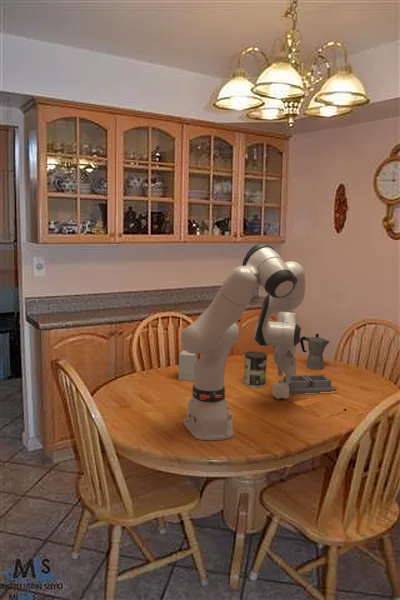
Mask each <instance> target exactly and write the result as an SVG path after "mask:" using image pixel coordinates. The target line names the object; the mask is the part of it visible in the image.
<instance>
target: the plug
mask: <svg viewBox="0 0 400 600" xmlns="http://www.w3.org/2000/svg"><path fill="white" fill-rule="evenodd" d="M271 395H272V396H273V397H274V398H275V399H276V400H277V399H279V400H280V399H283V400H284V399H285V400H287V399H289V396H290V395H289V386H288V385H287V384H286V383H279V382H272V394H271Z"/></svg>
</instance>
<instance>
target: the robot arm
mask: <svg viewBox="0 0 400 600" xmlns="http://www.w3.org/2000/svg"><path fill="white" fill-rule="evenodd" d="M259 287H262V288H263V289H264V290H265V292H266V293H267V294H266V296H265V297H264V299H263V302H262V306H261V309H260V313H259V316H258V320H257V323H256V325H255V327H254V330H253V331H254V332H253V337H254V341H255V342H256V343H257V344H258V345H260V346H261V347H264V346H266V347H267V346H272V348H273V351H272V352H273V353H272V354H273V362H274V364H275V365H276V366H277V367H276V369H277V376H278V377H284V374H285V376H286V379H285V383H286V384H290V379H291V377H292V376H297V358H296V357H295V356H294V355H296V353H297V346H298V344H300V341H301V331H302V327H301V326H300V325H299V324H298V314H297V312H296V311H293V310H295V309H297V308H298V307H300V306H301V305H302V304H303V301H304V297H305V294H306V275H305V269H304V268H303V266H302V265H301V264H300V263H298V262H296V261H294V260H293V261H284V259H283V258H282V257H281V255H280V254H278V252H276V250H275V249H274V248H273V246H270V245H269V244H267V243H264V242H261V243H260V242H259V243H257V244H255V245H254V246H252V247H251V248H250V249H249V250H248V251H247V253H246V255H245V257H244V258H243V260H242V265H239V266H237V267H235V268H233V269H232V271H231V273H230V274H229V275H228V276H227V278H226V279H225V280H224V282H223V283H222V285H221V287H220V288H219V290H218V292H217V293H216V295H215V296H214V298H213V300H212V302H211V303H210V304H209V306H207V308H206V309H205V310H204V311H203V312H202V313H201V314H200V315H199V316H198V318H196V320H194V321H193V322H192V323H190V324H189V325H188V326H187V327H185V328H184V329H183V330H182V332H181V334H180V343H181V346H182V348H183V349H184V351H187V352H188V353H191V354H197V355H198V354H199V355H200V354H201V356H200V357H199V359H198V360H197V363H196V365H195V370H194V380H193V385H192V397H191V398H190V399H189V400H188V402H187V416H186V418H184V419H183V420H182V424H183V425H184V426H185V428H186V429H187V430H188V431H189V433H190V435H192V436H193V437H194V439H197V440H201V441H220V440H221V441H222V440H228V439H231V438H234V436H235V435H234V425H233V413H232V412H228V410H230V405H228V399H227V398H226V389H225V388H226V387H225V385H224V384H225V370H226V363H227V361H228V357H229V355H230V352H231V350H232V347H233V346H234V344H235V343H236V342H237V340H238V339H239V335H240V329H239V326H238V325H237V322H238V321H239V319H240V318H241V316H242V315H243V313H244V311H245V309H246V308H247V307H248V304H249V303H250V302H251V300H252V299H253V296H254V294H255V291H256V290H257V289H258V288H259ZM274 314H277V319H276V321H271V320H270V319H271V317H272V316H273V315H274Z"/></svg>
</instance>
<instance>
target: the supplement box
mask: <svg viewBox="0 0 400 600" xmlns="http://www.w3.org/2000/svg"><path fill="white" fill-rule="evenodd" d="M197 359H198V354H191V353H188V352H187V351H186V350H185V349H184V350H182V351H181V352H179V354H178V376H177V377H178V380H179V381H185V382H194V370H195V365H196V363H197V361H198V360H197Z"/></svg>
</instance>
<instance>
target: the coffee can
mask: <svg viewBox="0 0 400 600" xmlns="http://www.w3.org/2000/svg"><path fill="white" fill-rule="evenodd" d="M267 360H268V354H267V353H265V352H261V351H248V352H247V351H246V352H245V353H244V364H243V366H244V370H243V385H244V386H247V387H250V388H263V387H264V386H266V379H267Z"/></svg>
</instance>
